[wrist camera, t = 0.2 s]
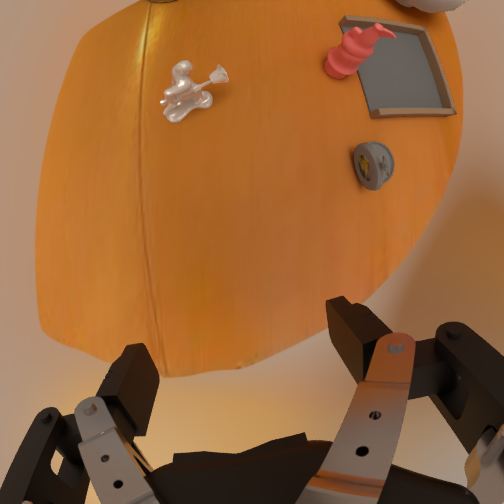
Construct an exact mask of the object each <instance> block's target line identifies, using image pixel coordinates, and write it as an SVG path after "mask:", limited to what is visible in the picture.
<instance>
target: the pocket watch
mask: <svg viewBox="0 0 504 504" xmlns="http://www.w3.org/2000/svg"><path fill="white" fill-rule="evenodd" d="M354 164H355V169H356V172H357V174H358V177H359V179H360V181H361V182H362V184H363V185H364V186H365V187H366V188H367V189H368V190H374V191H375V190H378V189H380V188H381V186H382V184H383V183H385V182H387V181H388V180H389V179H390V178H391V176H392V174H393V172H394V158H393V155H392V153H391V151H390V150H389V149H388V147H386V146H385V145H384V144H382V143H380V142H375V141H373V142H369V143H362V144H359V145H357V146H356V148H355V150H354Z"/></svg>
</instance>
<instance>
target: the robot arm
mask: <svg viewBox="0 0 504 504" xmlns="http://www.w3.org/2000/svg"><path fill="white" fill-rule="evenodd" d="M149 1H151V2H155V3H165V2H171V1H175V0H149ZM326 312H327V320H328V328H329V335H330V338H331V341H332V343H333V345H334V347H335V349H336V350H337V352H338V354H339V355H340V357H341V358H342V360H343V362H344V363H345V365H346V366H347V368H348V370H349V371H350V373H351V375H352V376H353V378H354V379H355V381H356V383H357V384H358V386H357V388H356V391H355V394H354V396H353V399H352V401H351V404H350V406H349V408H348V411H347V413H346V416H345V418H344V420H343V423H342V425H341V427H340V429H339V431H338V433H337V436H336V438H335V440H334V442H331V441H323V440H311V441H307V438H306V434H305V432H304V433H300V434H296V435H293V436H288V437H284V438H280V439H276V440H272V441H269V442H267V443H264V444H262V445H259V446H257V447H254V448H252V449H249V450H246V451H244V452H241V453H237V454H232V453H231V454H230V453H217V452H207V451H202V452H190V453H174V455H173V463H169V464H167V465H164V466H162V467H159V468H157V469H155V470H153V468H152V467H151V465H150V464H149V463H148V461H147V460H146V458H145V457H144V455H143V454H142V452H141V451H140V449H139V448H138V446H137V445H136V443H135V442H134V441H133V440H134V436H146V432H147V428H148V424H149V420H150V416H151V412H152V408H153V405H154V401H155V397H156V393H157V389H158V386H159V381H160V380H159V373H158V370H157V368H156V366H155V364H154V362H153V360H152V358H151V356H150V354H149V352H148V350H147V348H146V346H145V345H144V344H143V343H137V344H131V345H127V346H126V347H125V349H124V351H123V353H122V355H121V357H119V358H118V359H117V360H116V361H115V362H114V363H113V364H112V365H111V367H110V369H109V371H108V373H107V374H106V376H105V379H104V380H103V382H102V384H101V386H100V388H99V390H98V392H97V394H96V396H95V397H89V398H87V399H85V400H83V401H82V402H80V403H79V404H78V405H77V407H76V408H75V412H74V414H70V415H65V416H62V415H61V413H60V412H59V411H58V409H57V408H54V407H49V408H46V409H43V410H42V411H41V412H39V413H38V414H37V416H36V417H35V419H34V421H33V423H32V425H31V426H30V428H29V430H28V432H27V434H26V436H25V438H24V440H23V441H22V443H21V445H20V447H19V449H18V451H17V454H16V455H15V458H14V460H13V462H12V464H11V466H10V468H9V470H8V473H7V475H6V477H5V480H4V482H3V484H2V487H1V489H0V504H84V503H85V499H86V495H87V491H88V486H89V483H90V480H91V482H92V485H93V487H94V489H95V491H96V494H97V496H98V498H99V500H100V502H101V504H502V503H503V502H504V356H503V355H501V354H500V353H499V352H498V351H497V350H496V349H494V348H493V347H492V346H491V345H490V344H489V343H487V342H486V341H485V340H484V339H483V338H482V337H480V336H479V335H478V334H477V333H475V332H474V331H473V330H472V329H471V328H469V327H468V326H467V325H465V324H463V323H460V322H447V323H444V324H442V325H440V326H439V327H438V328H437V330H436V335H435V338H432V339H426V340H422V341H415V340H414V339H413V338H412V337H411V336H410V335H408V334H405V333H393V332H392V331H391V330H390V329H389V328H388V327H387V326H386V325H385V324H384V323H383V322H382V321H381V320H380V319H379V318H378V317H377V316H376V315H375V314H374V313H373V312H372V311H371V310H370V309H369V308H368V307H366V306H364V305H361V304H359V303H355V304H351V303H350V302H349V301H348V300H347V299H346V298H345V297H344V296H339V297H336V298H333V299H330V300H326ZM424 396H429V397H430V398H431V400H432V402H433V403H434V404H435V405H436V407H437V408H438V410H439V411H440V413H441V414H442V415H443V417H444V418H445V420H446V421H447V423H448V424H449V426H450V427H451V429H452V430H453V431H454V433H455V434H456V436H457V437H458V439H459V440H460V442H461V443H462V445H463V446H464V448H465V449H466V451H467V452H468V454H469V456H468V458H467V460H466V462H465V474H466V476H467V481H468V483H467V488H466V487H464V486H462V485H459V484H456V483H452V482H447V481H444V480H440V479H436V478H433V477H429V476H426V475H423V474H420V473H416V472H413V471H410V470H407V469H404V468H401V467H398V466H396V465H393V464H392V460H393V457H394V454H395V450H396V447H397V443H398V439H399V436H400V432H401V428H402V424H403V419H404V415H405V410H406V405H407V400H410V399H415V398H420V397H424ZM55 450H57V451H58V452H59V453H60V454H61V455H62V456H63V457H64V458H63V461H62V464H61V467H60V469H59V472H58V475H56V474H55V473H54V472H53V471H52V469H51V465H50V464H51V459H52V457H53V455H54V452H55Z"/></svg>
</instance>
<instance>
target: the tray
mask: <svg viewBox="0 0 504 504" xmlns="http://www.w3.org/2000/svg"><path fill="white" fill-rule="evenodd" d="M375 23H379V24H381V25H382V26H383V28H386V29H388V30H390V31H391V32H393V33H394V34H395V36H396V39H394V38H389V37H380V38H379V39H378V40H377V41H376V43H375V44H374V51H373V53H372V55H371V56H369V57H367V58H366V60H365V61H364V62H363V63H361V64H360V65H359V68H358V70H357V73H358V76H359V79H360V82H361V85H362V88H363V91H364V95H365V98H366V102H367V105H368V109H369V113H370V116H371V118H384V117H406V116H451V115H456V114H457V113H456V110H455V106H454V102H453V99H452V95H451V92H450V88H449V85H448V82H447V79H446V76H445V73H444V70H443V67H442V65H441V62H440V59H439V57H438V54H437V52H436V49H435V47H434V44H433V42H432V40H431V37H430V35H429V33H428V31H427V28H426V27H422V26H418V25H413V24H408V23H403V22H398V21H392V20H386V19H379V18H371V17H362V16H350V15H345V16H344V17H343V18H342V20H341V21H340V22H339V25H340V27H341V30H342V32H343V35H344V33H345V32H347V31H349V30H351V29H352V28H354V27H359V28H360V29H361V30H362V31H363V30H365V29H367V28H370V27H373V26H374V24H375Z"/></svg>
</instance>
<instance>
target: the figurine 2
mask: <svg viewBox="0 0 504 504" xmlns="http://www.w3.org/2000/svg"><path fill="white" fill-rule="evenodd" d="M380 37H389V38H394V39H396V36H395V34H394V33H393V32H391V31H390V30H388V29H386V28H383V26H382V25H381V24H379V23H375V24H374V26H373V27H370V28H367V29H365V30H363V31H362V30H361V29H360V28H359V27H354V28H352V29H351V30H349V31H347V32H345V33H344V35H343V37H342V43H341V44H339V45H338V46H337V47H333V48H331V49H330V50H329V52H328V55H327V57H328V58H327V59H326V60H325V62H324V69H325V71H326V72H327V74H328V75H330V76H331V77H333V78H336V79H341V78H344V77H345V76H346V75H351V74H354V73H355V72H356V71H357V70H358V68H359V65H360V64H361V63H363V62H364V61H365V60H366V58H367V57H369V56H371V55H372V53H373V51H374V44H375V43H376V41H377V40H378V39H379V38H380Z"/></svg>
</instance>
